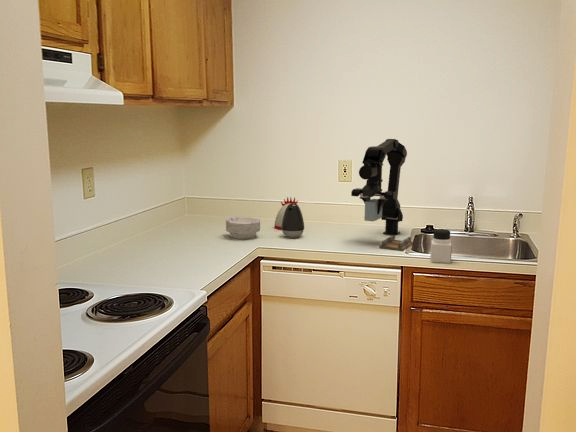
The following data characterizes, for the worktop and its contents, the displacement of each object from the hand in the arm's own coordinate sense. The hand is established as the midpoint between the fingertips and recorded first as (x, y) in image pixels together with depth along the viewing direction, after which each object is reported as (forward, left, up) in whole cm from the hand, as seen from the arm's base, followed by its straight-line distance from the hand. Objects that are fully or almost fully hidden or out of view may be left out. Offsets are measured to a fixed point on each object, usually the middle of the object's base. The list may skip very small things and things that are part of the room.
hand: (373, 213), depth 249 cm
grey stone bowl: (+18, -54, -13) cm, 58 cm away
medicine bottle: (+16, +33, -13) cm, 39 cm away
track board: (+1, +11, -12) cm, 17 cm away
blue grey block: (0, 0, -2) cm, 2 cm away
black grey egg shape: (+7, -35, -13) cm, 38 cm away
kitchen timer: (-10, -46, -13) cm, 49 cm away
